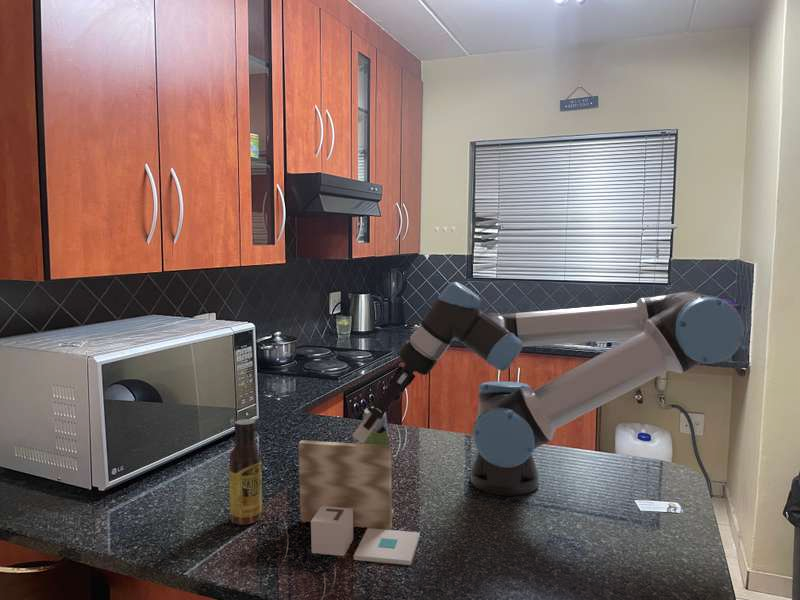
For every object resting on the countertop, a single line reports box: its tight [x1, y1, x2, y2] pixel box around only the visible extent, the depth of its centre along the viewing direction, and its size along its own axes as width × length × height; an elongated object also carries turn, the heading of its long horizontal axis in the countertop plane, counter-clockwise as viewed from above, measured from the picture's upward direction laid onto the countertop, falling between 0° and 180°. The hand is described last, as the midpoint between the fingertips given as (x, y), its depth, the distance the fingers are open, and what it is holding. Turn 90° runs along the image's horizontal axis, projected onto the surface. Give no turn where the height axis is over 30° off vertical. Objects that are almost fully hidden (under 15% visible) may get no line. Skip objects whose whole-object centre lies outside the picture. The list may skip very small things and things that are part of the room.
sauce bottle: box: [228, 418, 263, 526], centre depth 118 cm, size 6×6×20 cm
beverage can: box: [362, 405, 391, 445], centre depth 155 cm, size 6×7×12 cm
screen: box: [298, 439, 395, 530], centre depth 118 cm, size 18×6×16 cm, turn 79°
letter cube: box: [310, 506, 354, 557], centre depth 108 cm, size 6×6×6 cm
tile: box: [353, 528, 421, 566], centre depth 107 cm, size 10×10×1 cm
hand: (365, 428), depth 126 cm, fingers open, 13 cm apart
